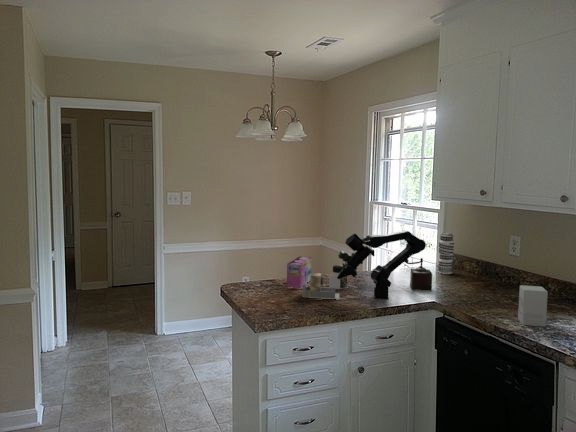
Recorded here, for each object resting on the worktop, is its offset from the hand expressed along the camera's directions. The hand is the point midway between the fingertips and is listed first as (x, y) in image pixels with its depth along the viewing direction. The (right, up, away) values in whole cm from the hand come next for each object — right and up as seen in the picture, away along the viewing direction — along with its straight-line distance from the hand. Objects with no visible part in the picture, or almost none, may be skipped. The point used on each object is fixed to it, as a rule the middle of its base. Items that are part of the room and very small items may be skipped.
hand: (337, 278), depth 231 cm
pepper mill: (+45, -8, +22) cm, 51 cm away
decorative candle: (+74, -5, +61) cm, 96 cm away
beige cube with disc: (-10, -8, +2) cm, 13 cm away
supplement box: (+78, -14, -35) cm, 87 cm away
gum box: (-18, -7, +27) cm, 33 cm away
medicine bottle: (+2, -8, +21) cm, 22 cm away
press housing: (-8, -9, +2) cm, 13 cm away
